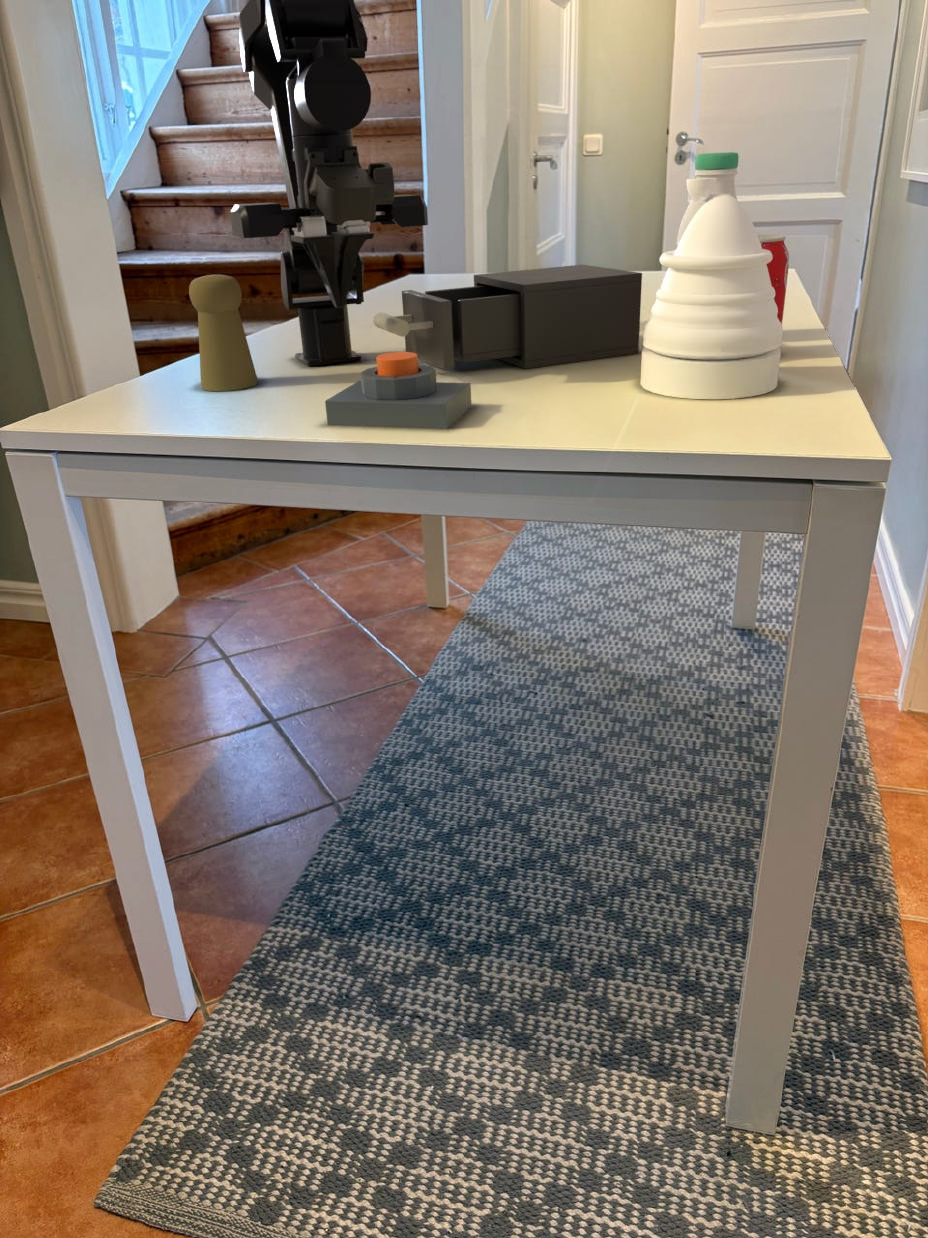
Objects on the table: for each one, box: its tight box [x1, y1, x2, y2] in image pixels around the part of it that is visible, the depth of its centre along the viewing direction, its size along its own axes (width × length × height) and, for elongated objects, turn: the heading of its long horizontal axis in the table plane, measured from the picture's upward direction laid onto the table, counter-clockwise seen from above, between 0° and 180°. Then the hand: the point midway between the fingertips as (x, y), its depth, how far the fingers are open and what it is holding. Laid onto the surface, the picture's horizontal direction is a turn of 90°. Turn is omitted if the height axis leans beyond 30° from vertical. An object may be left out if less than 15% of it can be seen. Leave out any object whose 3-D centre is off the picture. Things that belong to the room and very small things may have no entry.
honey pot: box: [639, 178, 784, 400], centre depth 83 cm, size 13×13×18 cm
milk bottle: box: [675, 151, 740, 250], centre depth 103 cm, size 8×8×20 cm
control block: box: [324, 363, 472, 430], centre depth 80 cm, size 11×8×4 cm
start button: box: [375, 351, 419, 376], centre depth 79 cm, size 4×4×2 cm
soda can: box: [757, 234, 790, 326], centre depth 96 cm, size 7×7×12 cm
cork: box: [188, 274, 259, 392], centre depth 94 cm, size 6×6×11 cm
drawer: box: [373, 285, 522, 371], centre depth 99 cm, size 18×11×7 cm, turn 114°
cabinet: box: [473, 264, 643, 370], centre depth 103 cm, size 15×13×9 cm
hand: (339, 307), depth 93 cm, fingers closed
